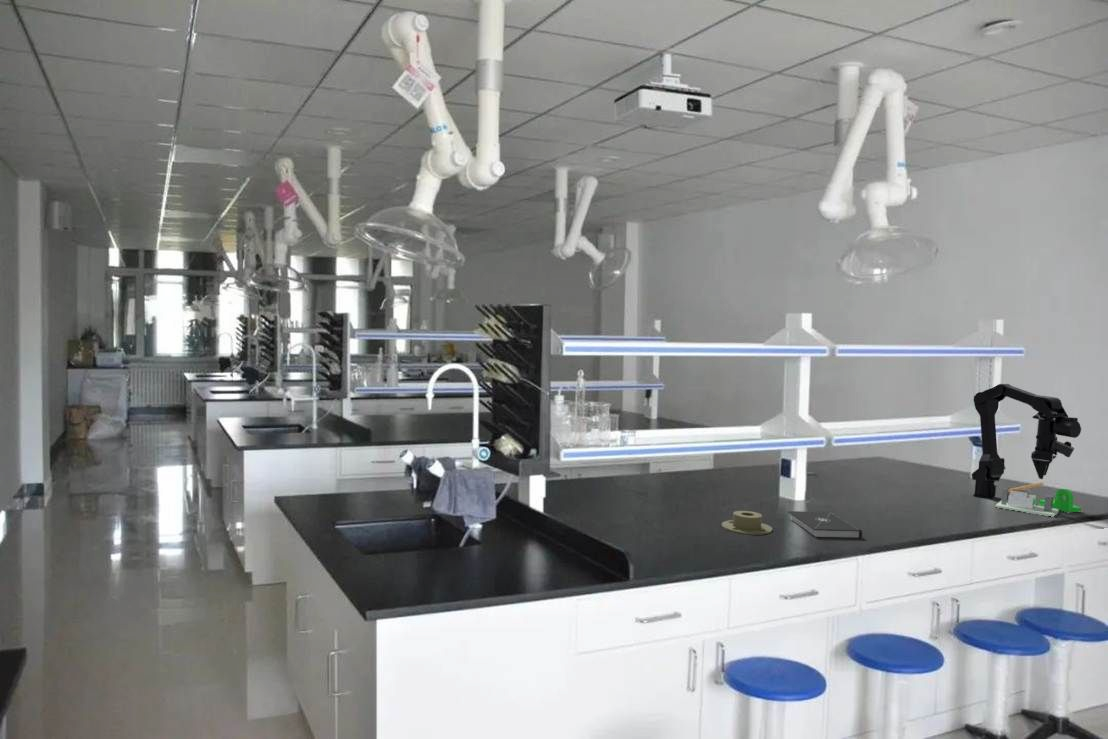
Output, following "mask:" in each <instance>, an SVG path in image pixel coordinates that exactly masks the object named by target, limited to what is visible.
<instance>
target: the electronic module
mask: <svg viewBox="0 0 1108 739" xmlns="http://www.w3.org/2000/svg"><path fill="white" fill-rule="evenodd" d="M1008 489H1011V487H1007V486H1004V488H1002V492H1001V499H1000V501H1001V504H1004V505H1007V503H1008V506H1012V507H1019V508H1025V509H1031V510H1032V509H1033V508H1034V507H1035V505H1036V504H1037V503H1036V500H1037V495H1036V494H1031V490H1030V489H1022V490H1017V491H1014V490H1011V492H1008ZM1044 500H1045V504H1044V511H1049V512H1051V511H1052V507H1053V500H1054V495H1049V494H1046V495H1045V496H1044Z"/></svg>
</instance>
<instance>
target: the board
mask: <svg viewBox="0 0 1108 739" xmlns="http://www.w3.org/2000/svg"><path fill="white" fill-rule="evenodd" d="M995 507H997V508H996V509H999V508H1003V509H1002V510H1005V509H1009V510H1008V511H1011V510H1015V511H1014V512H1017V511H1021V512H1020V513H1023V512H1026V513H1025V514H1029V513H1031V515H1036V514H1038V515H1037V516H1042V515H1044V516H1043V517H1048V516H1051V517H1050V518H1055V517H1056V516H1057V515H1058V513H1059V512H1060V511H1059V509H1057V508H1052V511H1051V512H1049V511H1044V506H1041V505H1039V504H1038V505H1036V504H1035V507H1034V508H1033V509H1032V510H1031V509H1025V508H1019V507H1012V506H1008V503H1007V505H1004V504H1001V500H1000V501H998V502H997V503H996V504H995ZM1055 515H1056V516H1055ZM1054 516H1055V517H1054Z"/></svg>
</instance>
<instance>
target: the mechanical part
mask: <svg viewBox="0 0 1108 739" xmlns="http://www.w3.org/2000/svg"><path fill="white" fill-rule="evenodd" d="M1064 497H1065V498H1064ZM1044 504H1045V499H1039V500H1038V506H1041V505H1042V506H1044ZM1052 508H1057V509H1059V510H1061V511H1060V512H1062V511H1065V512H1064V513H1066V512H1078V511H1081V512H1082V507H1081V506H1077V505H1075V504H1074V495H1073V492H1072V491H1071V490H1070V489H1068V488H1063V489H1062V488H1061V489H1058V490H1057V491H1056V492H1055V497H1054V499H1053V507H1052Z"/></svg>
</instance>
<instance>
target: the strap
mask: <svg viewBox="0 0 1108 739" xmlns="http://www.w3.org/2000/svg"><path fill="white" fill-rule="evenodd" d="M1043 486H1044V482H1043V481H1041V482H1037V483H1031V484H1026V485H1021V486H1018V487H1010V489H1008V492H1010V493H1011V490H1014V491H1017V490H1022V489H1025V490H1028V489H1032V488H1037V487H1043Z"/></svg>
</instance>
